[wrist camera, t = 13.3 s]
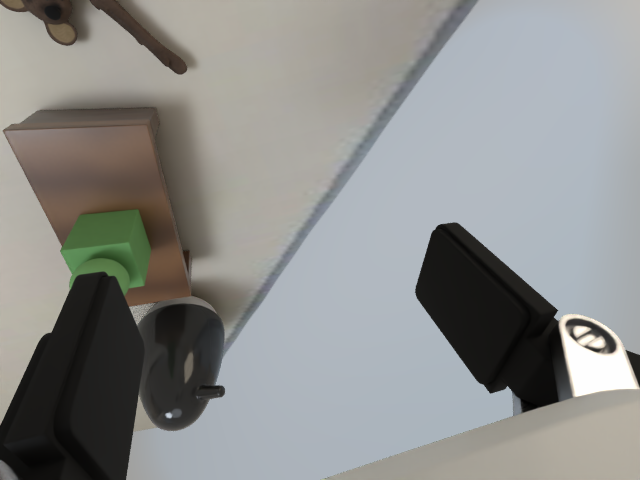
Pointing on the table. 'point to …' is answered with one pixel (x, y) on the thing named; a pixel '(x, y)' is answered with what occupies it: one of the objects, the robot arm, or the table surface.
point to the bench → (105, 182)
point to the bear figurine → (55, 9)
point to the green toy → (109, 247)
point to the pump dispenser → (180, 361)
